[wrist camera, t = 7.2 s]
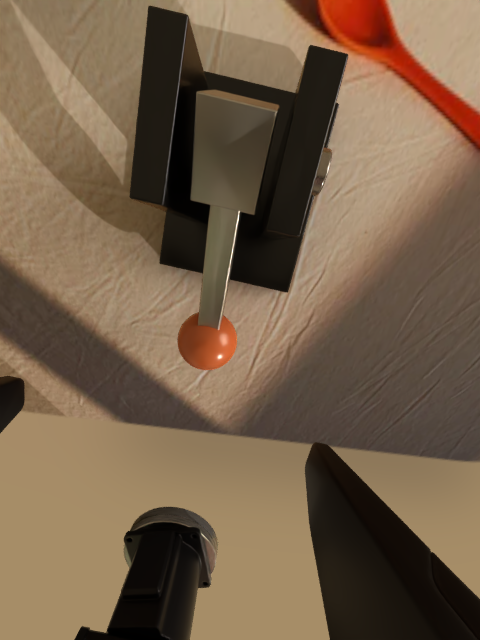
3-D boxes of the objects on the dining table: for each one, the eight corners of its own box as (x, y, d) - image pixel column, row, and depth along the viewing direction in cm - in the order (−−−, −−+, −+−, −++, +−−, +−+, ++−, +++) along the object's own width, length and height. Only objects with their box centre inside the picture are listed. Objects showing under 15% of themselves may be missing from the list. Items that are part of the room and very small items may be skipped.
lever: (235, 345, 17) (227, 387, 15) (185, 334, 17) (169, 375, 15) (294, 107, 9) (297, 116, 7) (201, 85, 9) (171, 86, 7)
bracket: (285, 290, 18) (321, 338, 9) (164, 262, 17) (71, 282, 8) (334, 112, 15) (458, -86, 6) (190, 77, 15) (94, -180, 6)
